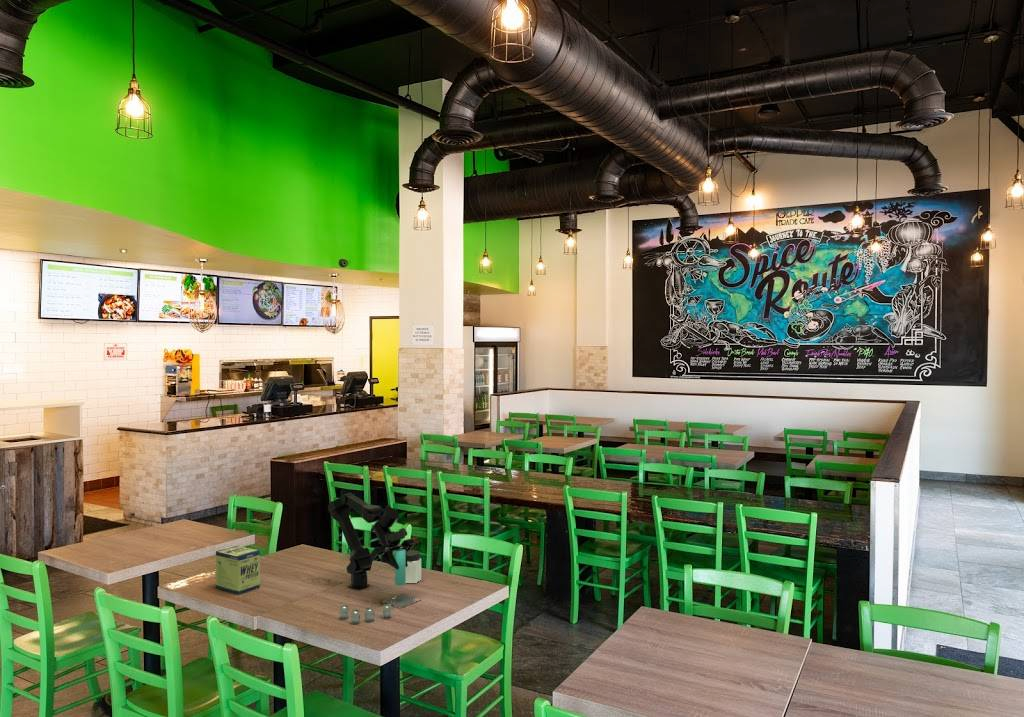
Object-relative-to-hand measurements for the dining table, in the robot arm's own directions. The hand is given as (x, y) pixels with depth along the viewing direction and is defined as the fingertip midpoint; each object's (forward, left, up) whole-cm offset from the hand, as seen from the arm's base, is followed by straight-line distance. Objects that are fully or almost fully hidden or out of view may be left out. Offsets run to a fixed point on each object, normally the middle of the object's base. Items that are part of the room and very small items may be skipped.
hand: (402, 567), depth 272 cm
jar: (-16, +20, -14) cm, 30 cm away
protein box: (-67, -29, -14) cm, 74 cm away
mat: (-1, 0, -13) cm, 13 cm away
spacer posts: (+1, -19, -13) cm, 24 cm away
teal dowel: (-1, 0, -7) cm, 7 cm away
